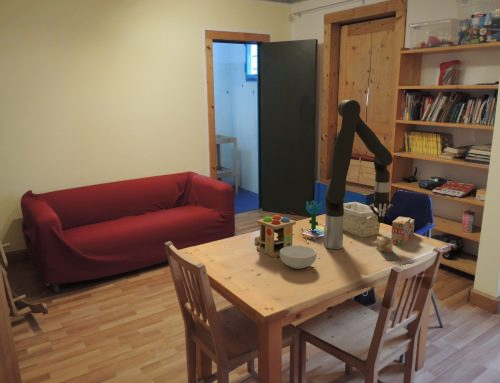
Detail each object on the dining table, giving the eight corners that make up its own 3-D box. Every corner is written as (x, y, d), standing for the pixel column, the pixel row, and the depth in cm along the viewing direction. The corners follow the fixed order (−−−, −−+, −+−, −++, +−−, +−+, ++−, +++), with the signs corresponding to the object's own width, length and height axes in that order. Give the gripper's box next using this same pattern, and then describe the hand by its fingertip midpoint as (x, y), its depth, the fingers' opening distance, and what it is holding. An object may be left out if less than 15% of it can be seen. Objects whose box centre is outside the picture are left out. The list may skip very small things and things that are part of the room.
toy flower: (312, 235, 235) (313, 204, 231) (302, 231, 242) (302, 201, 238) (324, 233, 239) (325, 202, 236) (314, 229, 247) (314, 199, 243)
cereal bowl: (323, 268, 189) (324, 253, 188) (293, 275, 181) (294, 260, 180) (301, 256, 204) (301, 242, 202) (272, 263, 196) (272, 248, 194)
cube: (380, 251, 208) (380, 240, 207) (376, 247, 214) (377, 236, 213) (392, 251, 208) (392, 240, 207) (387, 247, 214) (388, 236, 213)
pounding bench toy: (246, 245, 220) (245, 212, 216) (266, 239, 229) (266, 208, 225) (275, 257, 203) (275, 222, 199) (295, 251, 211) (296, 217, 207)
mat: (387, 260, 197) (387, 260, 197) (375, 248, 214) (375, 248, 214) (401, 260, 197) (401, 260, 197) (389, 248, 214) (389, 247, 214)
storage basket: (333, 227, 250) (334, 204, 247) (354, 224, 257) (355, 200, 254) (360, 239, 229) (361, 213, 226) (382, 234, 236) (383, 209, 233)
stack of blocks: (402, 233, 238) (403, 212, 236) (413, 235, 235) (415, 214, 232) (390, 243, 221) (392, 221, 219) (402, 245, 218) (404, 223, 215)
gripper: (371, 192, 210) (370, 225, 213) (397, 191, 210) (395, 224, 213) (367, 189, 217) (365, 221, 221) (392, 188, 217) (390, 220, 221)
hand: (380, 222), depth 217 cm, fingers closed
